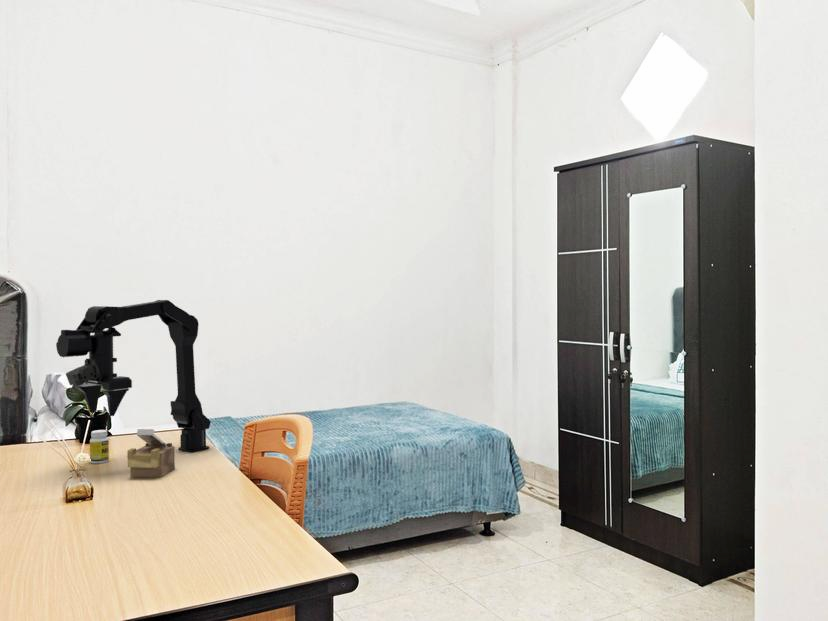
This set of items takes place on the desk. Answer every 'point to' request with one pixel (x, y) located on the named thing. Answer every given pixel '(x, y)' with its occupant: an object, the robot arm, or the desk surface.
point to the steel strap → (150, 437)
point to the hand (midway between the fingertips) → (102, 414)
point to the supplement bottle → (99, 446)
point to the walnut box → (151, 460)
